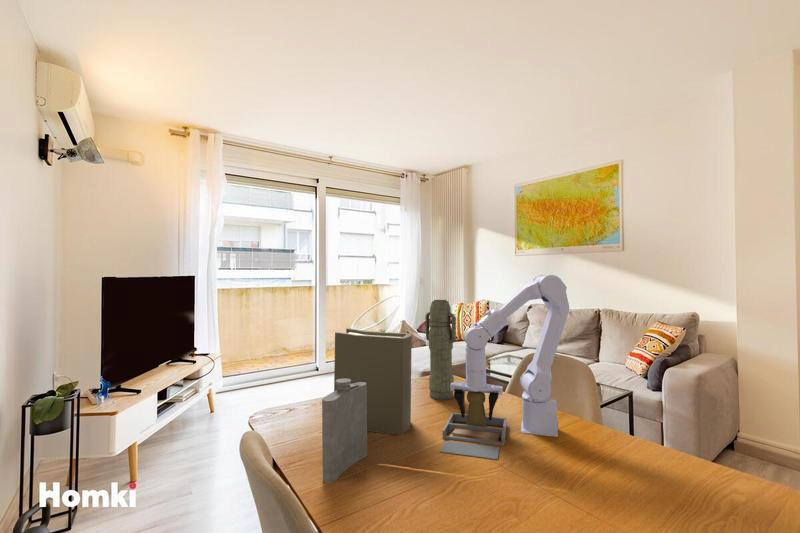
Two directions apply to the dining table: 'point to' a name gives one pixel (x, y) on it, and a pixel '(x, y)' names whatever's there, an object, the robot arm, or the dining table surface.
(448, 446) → the slate mat
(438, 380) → the thermos
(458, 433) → the top offcut
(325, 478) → the hip flask
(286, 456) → the dining table surface
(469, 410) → the cork
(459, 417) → the rack
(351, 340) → the book
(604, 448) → the dining table surface
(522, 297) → the robot arm
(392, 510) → the dining table surface
